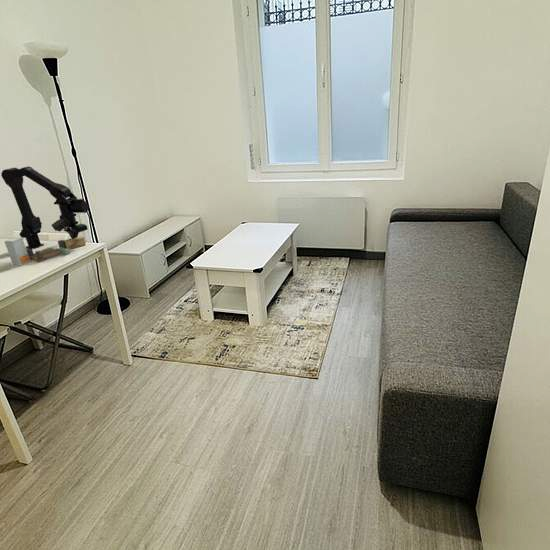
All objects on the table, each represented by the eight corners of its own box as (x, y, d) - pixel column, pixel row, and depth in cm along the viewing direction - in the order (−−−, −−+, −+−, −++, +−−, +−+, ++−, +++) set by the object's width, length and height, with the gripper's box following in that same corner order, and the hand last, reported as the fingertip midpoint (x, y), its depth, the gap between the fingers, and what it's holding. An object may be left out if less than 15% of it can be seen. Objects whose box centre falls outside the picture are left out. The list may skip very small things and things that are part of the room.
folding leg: (61, 251, 191) (58, 242, 189) (59, 249, 193) (56, 241, 191) (86, 244, 197) (83, 236, 196) (83, 243, 200) (81, 234, 198)
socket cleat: (59, 253, 188) (57, 248, 187) (62, 252, 190) (60, 247, 189) (67, 255, 185) (65, 250, 184) (70, 253, 186) (69, 249, 185)
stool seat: (27, 259, 184) (24, 250, 182) (54, 249, 194) (51, 241, 192) (39, 262, 178) (36, 253, 177) (66, 252, 189) (64, 243, 187)
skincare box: (20, 266, 175) (11, 241, 170) (12, 266, 176) (3, 241, 171) (30, 261, 181) (22, 236, 176) (23, 261, 182) (14, 236, 177)
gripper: (40, 214, 190) (49, 244, 197) (63, 219, 181) (71, 250, 188) (62, 208, 199) (69, 237, 205) (84, 213, 190) (91, 243, 196)
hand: (75, 242), depth 199 cm, fingers closed
